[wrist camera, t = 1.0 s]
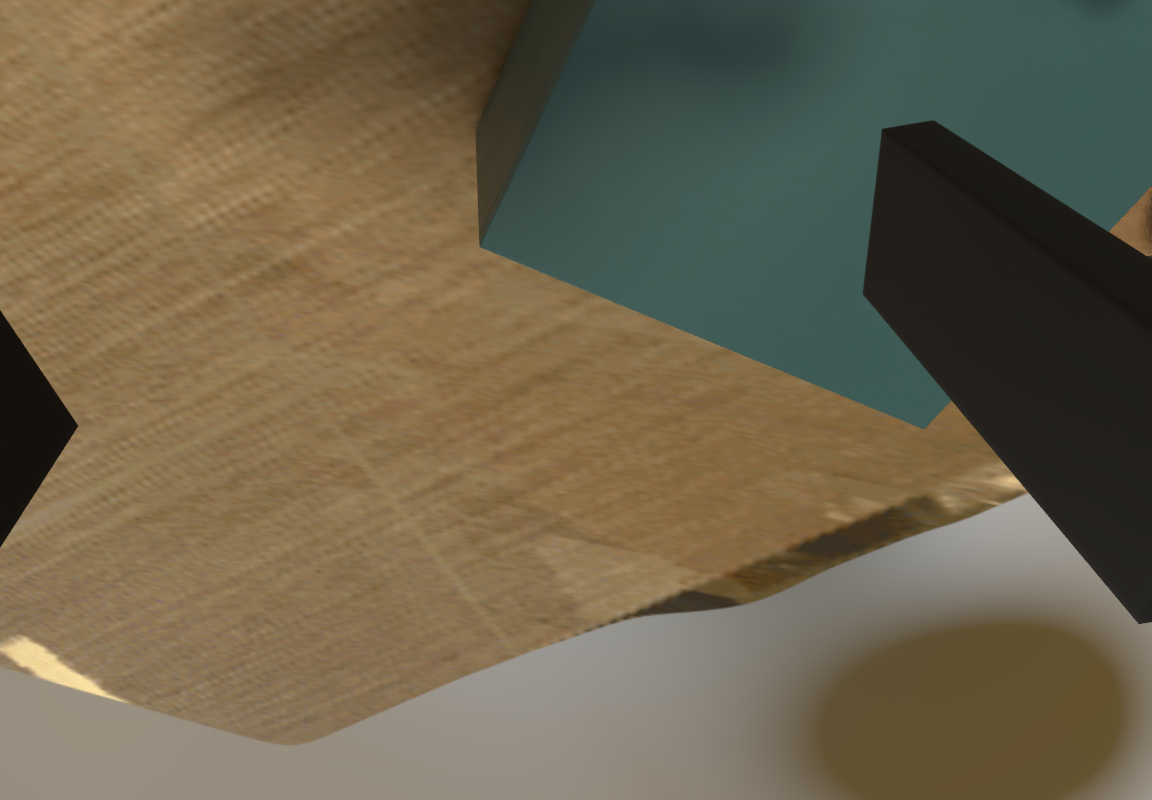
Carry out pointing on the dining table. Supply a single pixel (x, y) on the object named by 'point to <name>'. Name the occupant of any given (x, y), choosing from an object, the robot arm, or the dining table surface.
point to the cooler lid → (807, 158)
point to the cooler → (521, 92)
